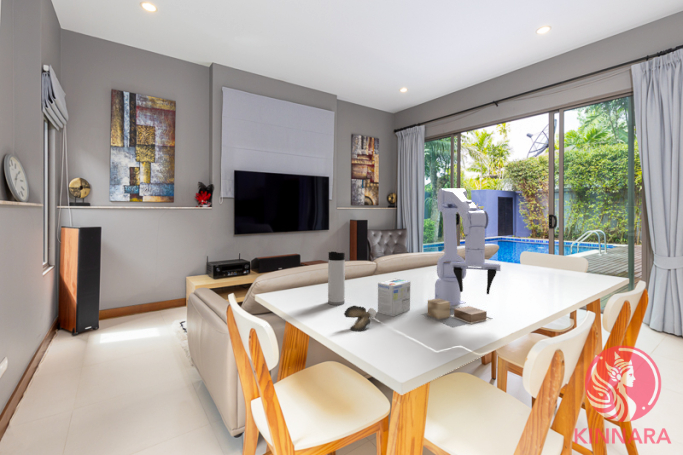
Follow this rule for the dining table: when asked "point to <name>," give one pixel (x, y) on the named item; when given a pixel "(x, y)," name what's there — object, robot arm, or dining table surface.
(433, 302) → the oak cube
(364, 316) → the eagle figurine
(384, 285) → the light bulb box
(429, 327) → the dining table surface
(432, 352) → the dining table surface
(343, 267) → the travel mug
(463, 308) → the walnut slab
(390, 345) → the dining table surface
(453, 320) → the mat
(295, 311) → the dining table surface
